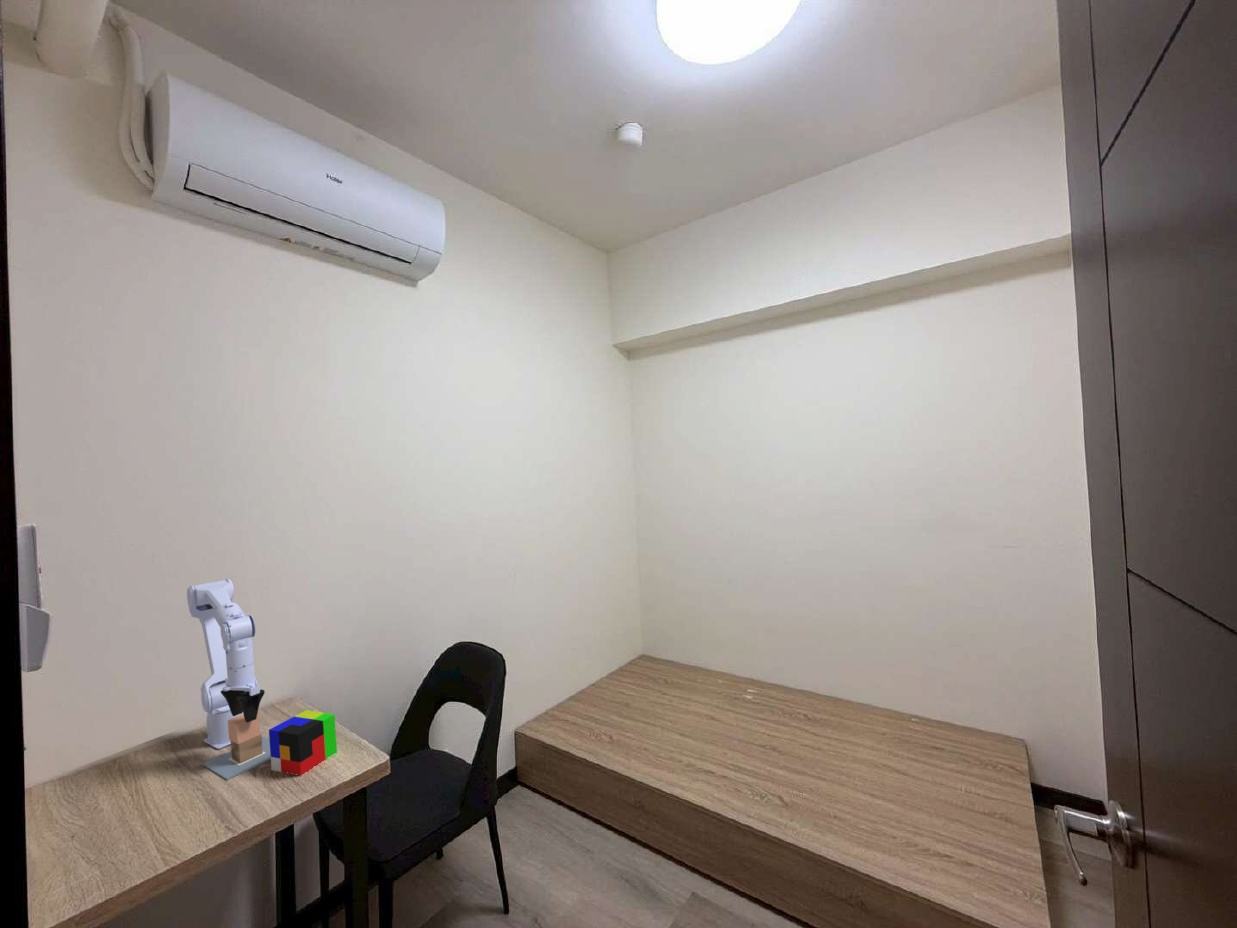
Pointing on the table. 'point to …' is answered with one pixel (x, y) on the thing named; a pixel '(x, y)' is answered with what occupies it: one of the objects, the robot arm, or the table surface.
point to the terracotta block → (242, 729)
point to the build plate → (231, 767)
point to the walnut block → (247, 749)
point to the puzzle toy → (302, 742)
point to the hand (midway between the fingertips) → (244, 717)
